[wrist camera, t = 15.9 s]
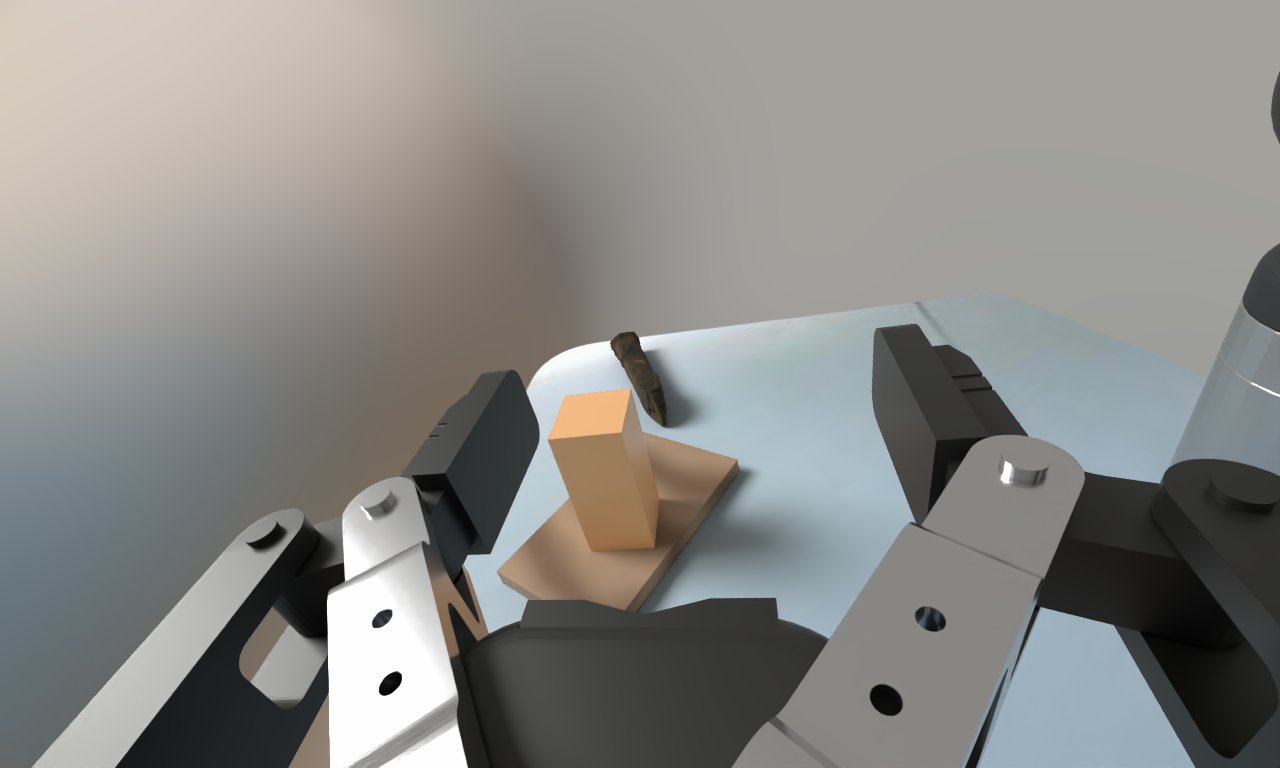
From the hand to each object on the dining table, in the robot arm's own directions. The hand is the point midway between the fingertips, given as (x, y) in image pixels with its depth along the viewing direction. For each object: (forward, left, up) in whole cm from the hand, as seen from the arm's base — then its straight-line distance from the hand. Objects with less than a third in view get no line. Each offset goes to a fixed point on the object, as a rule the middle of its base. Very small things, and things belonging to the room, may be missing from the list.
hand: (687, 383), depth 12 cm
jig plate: (-14, -20, -28) cm, 37 cm away
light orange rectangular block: (-13, -19, -27) cm, 35 cm away
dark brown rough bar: (-33, -32, -29) cm, 54 cm away
